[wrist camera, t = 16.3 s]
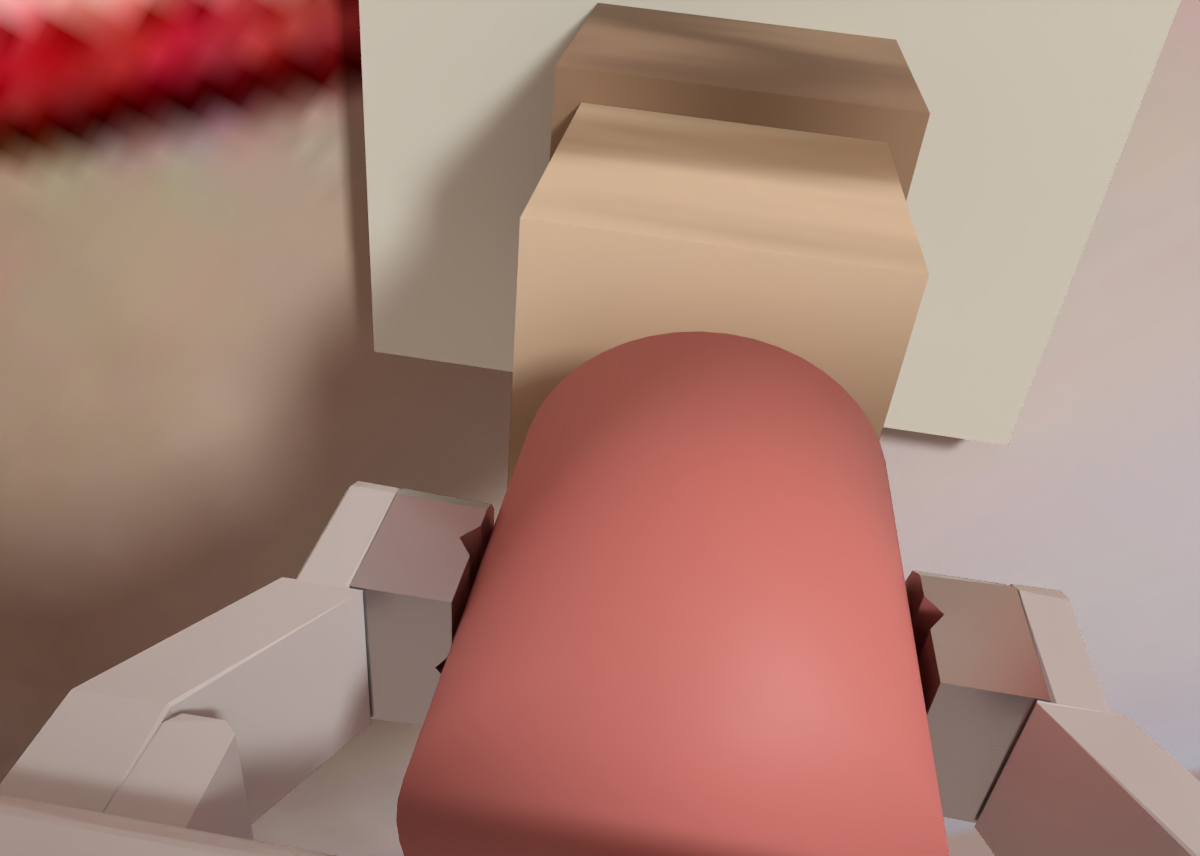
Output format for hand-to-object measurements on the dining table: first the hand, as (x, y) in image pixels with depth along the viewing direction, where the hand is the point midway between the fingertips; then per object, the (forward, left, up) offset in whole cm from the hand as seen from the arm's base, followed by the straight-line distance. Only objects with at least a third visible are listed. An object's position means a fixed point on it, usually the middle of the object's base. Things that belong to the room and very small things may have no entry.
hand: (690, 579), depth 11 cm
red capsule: (0, 0, -2) cm, 2 cm away
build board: (0, 0, -14) cm, 15 cm away
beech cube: (0, 0, -8) cm, 8 cm away
